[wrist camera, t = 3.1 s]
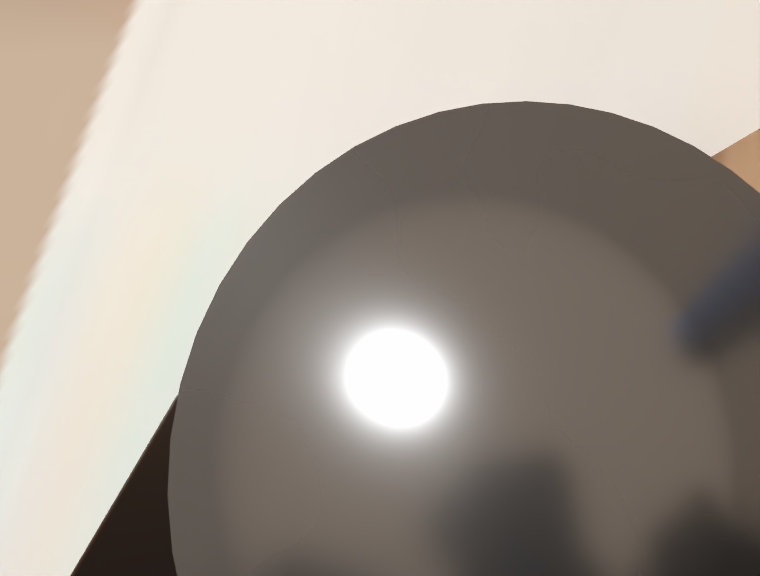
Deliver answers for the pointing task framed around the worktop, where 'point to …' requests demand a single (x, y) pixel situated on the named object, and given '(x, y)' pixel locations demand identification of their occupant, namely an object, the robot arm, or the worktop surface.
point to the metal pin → (483, 362)
